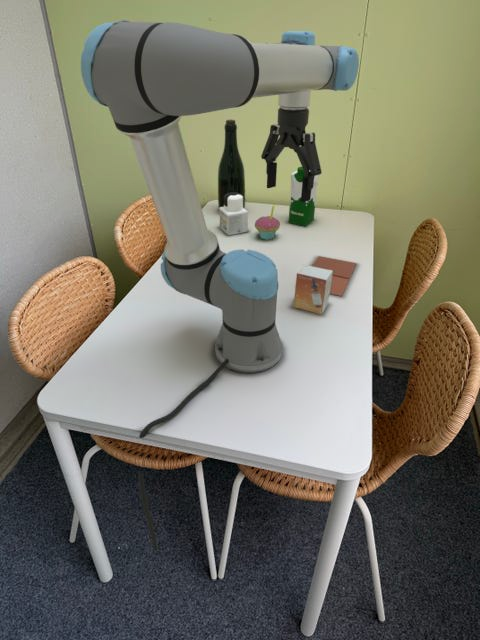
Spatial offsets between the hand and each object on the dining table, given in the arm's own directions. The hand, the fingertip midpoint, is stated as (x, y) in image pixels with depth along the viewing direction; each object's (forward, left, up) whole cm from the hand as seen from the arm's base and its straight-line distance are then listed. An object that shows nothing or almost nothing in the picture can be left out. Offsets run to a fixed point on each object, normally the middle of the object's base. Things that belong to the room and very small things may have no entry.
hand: (287, 193), depth 118 cm
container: (+22, +26, -24) cm, 42 cm away
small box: (-15, -13, -24) cm, 31 cm away
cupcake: (+21, +13, -24) cm, 35 cm away
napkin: (+3, -13, -24) cm, 28 cm away
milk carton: (+39, +6, -24) cm, 46 cm away
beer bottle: (+38, +34, -24) cm, 56 cm away
